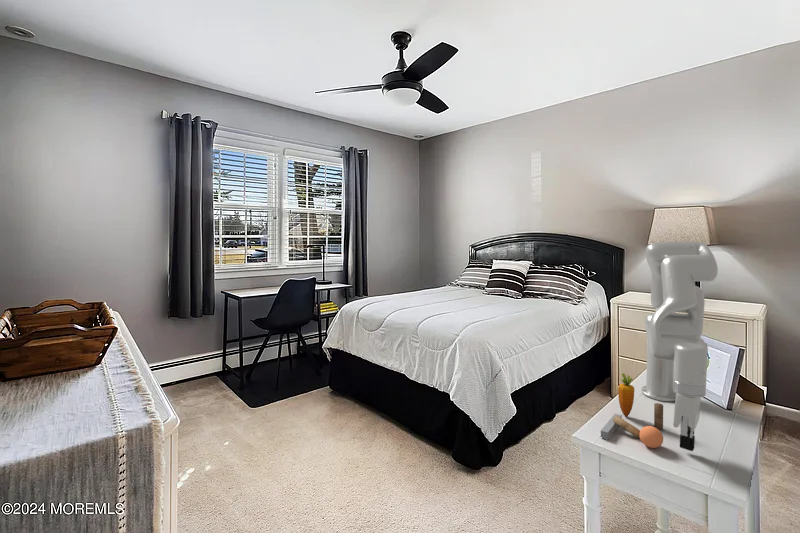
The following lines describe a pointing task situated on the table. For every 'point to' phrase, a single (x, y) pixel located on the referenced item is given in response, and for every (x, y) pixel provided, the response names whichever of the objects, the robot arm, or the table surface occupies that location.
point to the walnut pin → (658, 416)
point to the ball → (651, 436)
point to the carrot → (626, 395)
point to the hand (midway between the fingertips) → (686, 448)
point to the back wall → (609, 428)
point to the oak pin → (626, 426)
